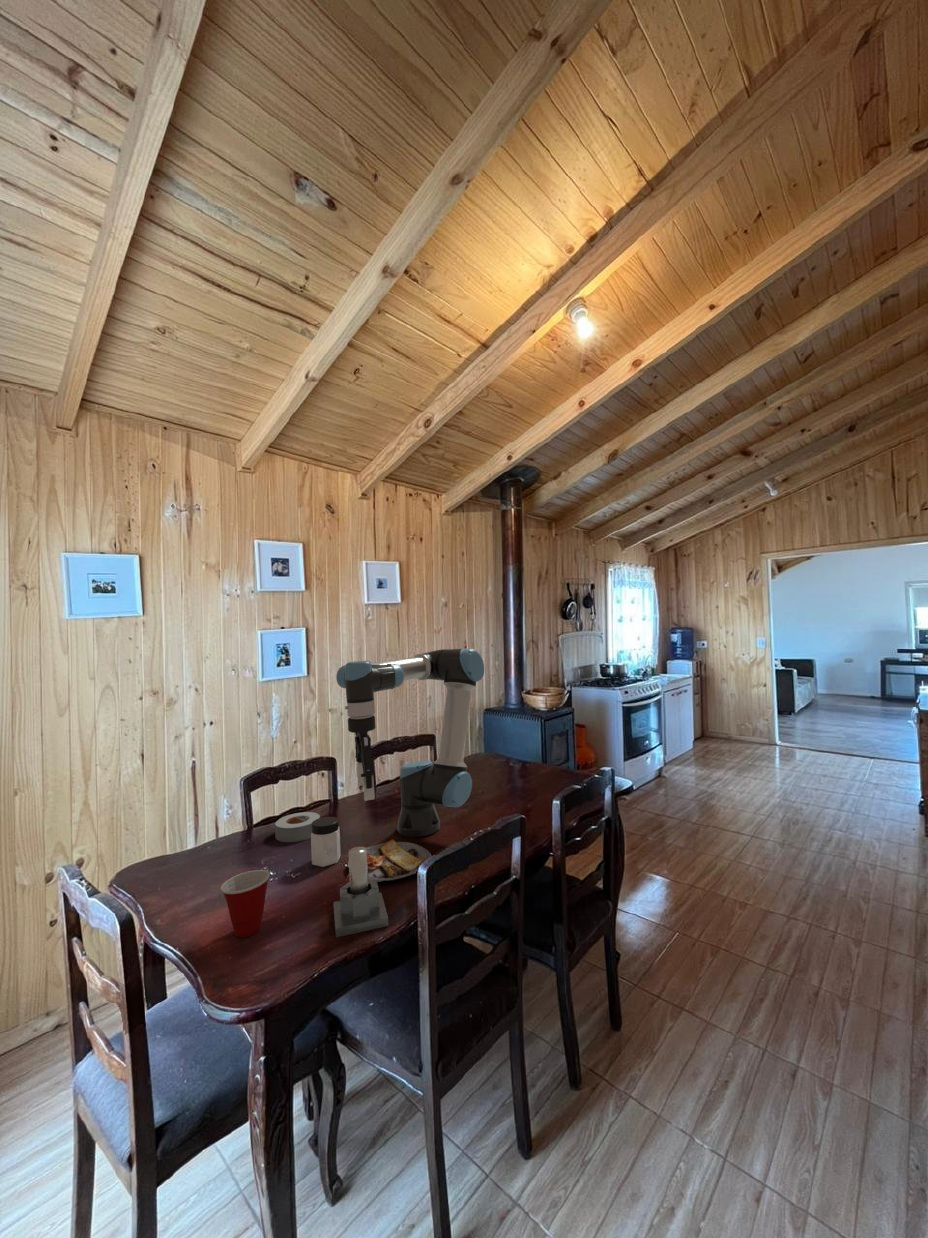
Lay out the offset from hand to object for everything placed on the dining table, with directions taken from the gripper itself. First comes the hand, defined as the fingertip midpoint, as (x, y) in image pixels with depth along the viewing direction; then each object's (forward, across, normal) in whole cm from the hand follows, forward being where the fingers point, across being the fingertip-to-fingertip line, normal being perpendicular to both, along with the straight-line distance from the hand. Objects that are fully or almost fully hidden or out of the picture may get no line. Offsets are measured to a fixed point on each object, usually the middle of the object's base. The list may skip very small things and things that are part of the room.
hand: (365, 792), depth 136 cm
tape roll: (+26, -47, -19) cm, 57 cm away
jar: (+25, -20, -11) cm, 34 cm away
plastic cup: (+24, +11, -31) cm, 41 cm away
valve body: (+25, +14, -5) cm, 29 cm away
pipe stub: (+23, +16, -5) cm, 28 cm away
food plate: (+26, -8, +7) cm, 28 cm away
